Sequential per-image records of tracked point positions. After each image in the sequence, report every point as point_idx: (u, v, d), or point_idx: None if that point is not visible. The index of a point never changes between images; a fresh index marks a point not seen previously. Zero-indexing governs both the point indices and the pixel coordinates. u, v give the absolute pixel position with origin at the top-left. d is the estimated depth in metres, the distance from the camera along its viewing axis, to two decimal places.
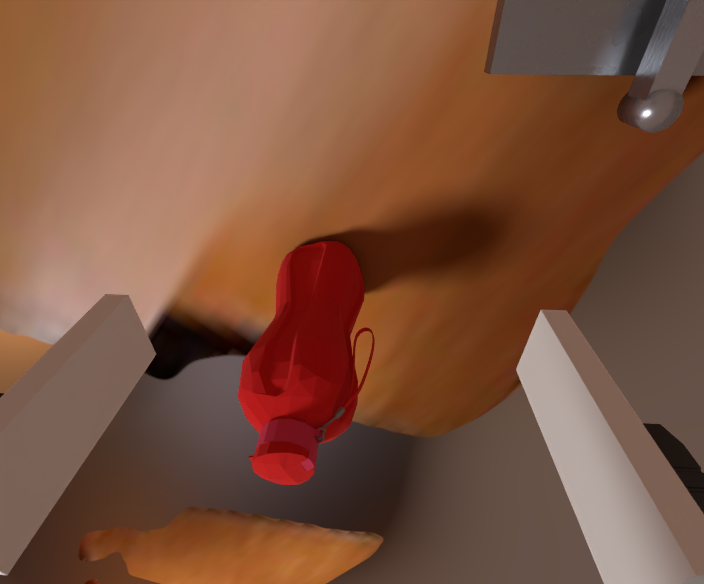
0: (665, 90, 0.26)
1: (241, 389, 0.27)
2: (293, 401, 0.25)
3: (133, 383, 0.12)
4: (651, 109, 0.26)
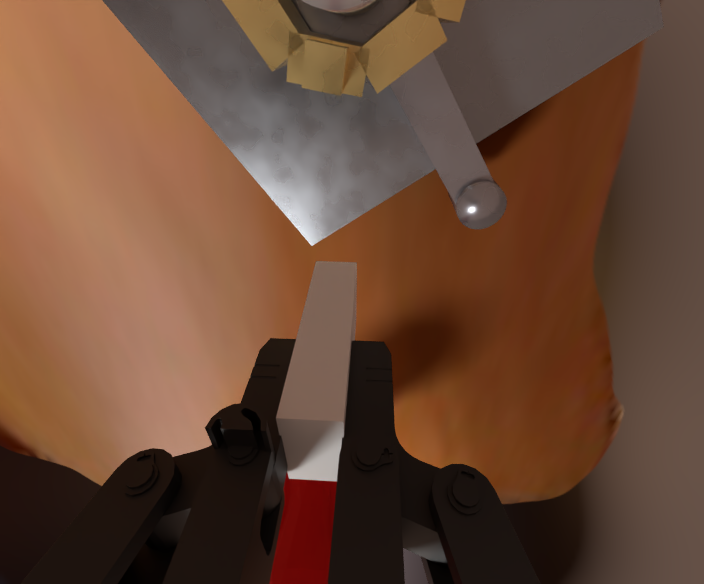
0: (467, 187, 0.21)
1: None
2: None
3: None
4: (467, 212, 0.21)
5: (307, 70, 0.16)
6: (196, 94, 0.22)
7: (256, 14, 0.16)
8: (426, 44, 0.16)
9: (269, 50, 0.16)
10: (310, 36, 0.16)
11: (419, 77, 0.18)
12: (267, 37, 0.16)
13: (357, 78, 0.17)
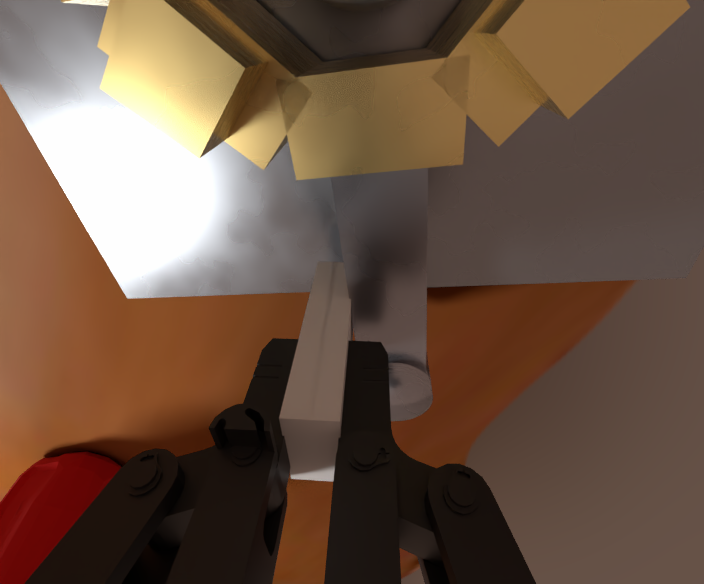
0: None
1: None
2: None
3: None
4: None
5: (124, 57, 0.06)
6: None
7: None
8: (423, 149, 0.08)
9: None
10: None
11: (386, 188, 0.09)
12: None
13: (267, 132, 0.08)
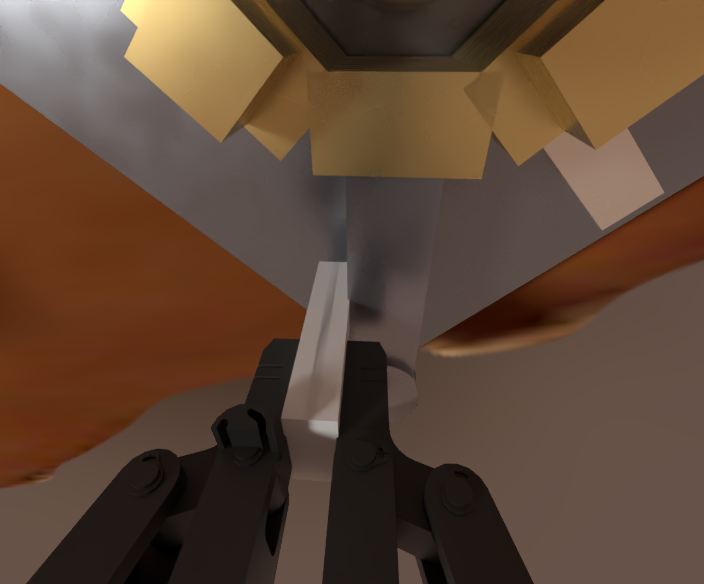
0: None
1: None
2: None
3: None
4: None
5: (156, 28, 0.05)
6: None
7: None
8: (445, 159, 0.08)
9: None
10: None
11: (400, 193, 0.09)
12: None
13: (290, 122, 0.07)
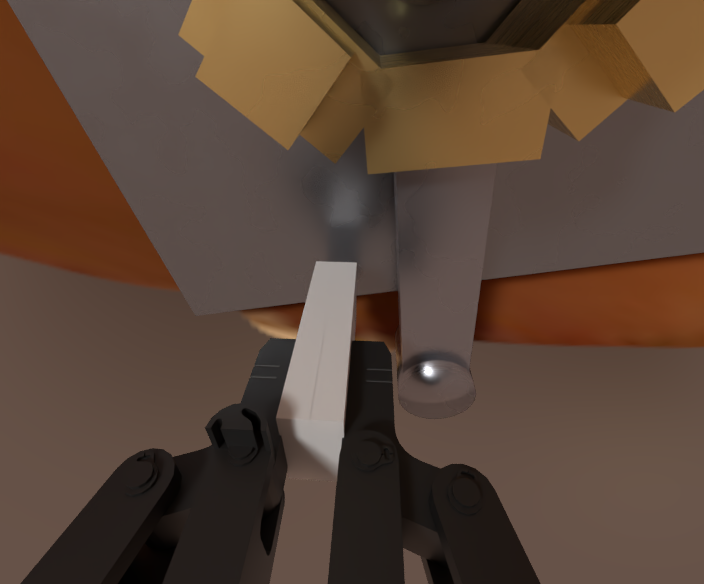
0: (431, 362, 0.13)
1: None
2: None
3: None
4: (414, 393, 0.13)
5: (226, 44, 0.05)
6: None
7: None
8: (502, 143, 0.07)
9: None
10: None
11: (452, 183, 0.09)
12: None
13: (344, 124, 0.07)
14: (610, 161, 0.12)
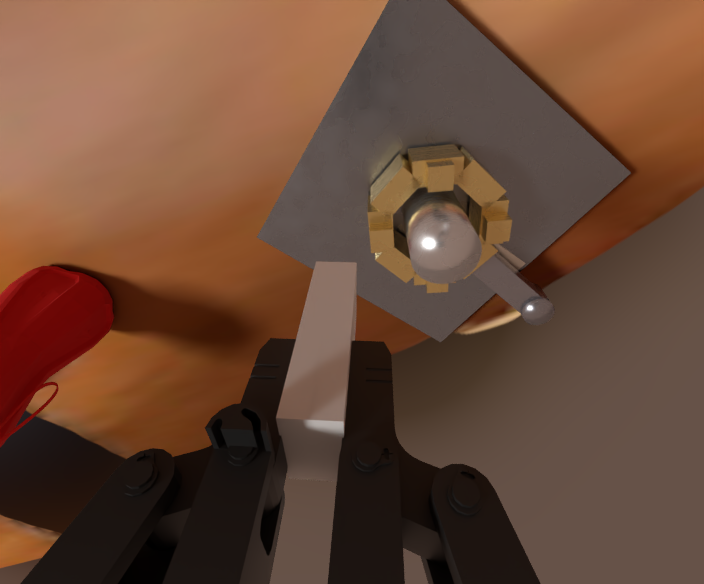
0: (526, 304, 0.34)
1: None
2: None
3: None
4: (530, 317, 0.34)
5: (429, 286, 0.31)
6: (325, 132, 0.29)
7: (396, 264, 0.31)
8: (487, 255, 0.30)
9: (404, 275, 0.32)
10: None
11: (485, 264, 0.32)
12: (402, 271, 0.32)
13: None
14: (533, 207, 0.32)
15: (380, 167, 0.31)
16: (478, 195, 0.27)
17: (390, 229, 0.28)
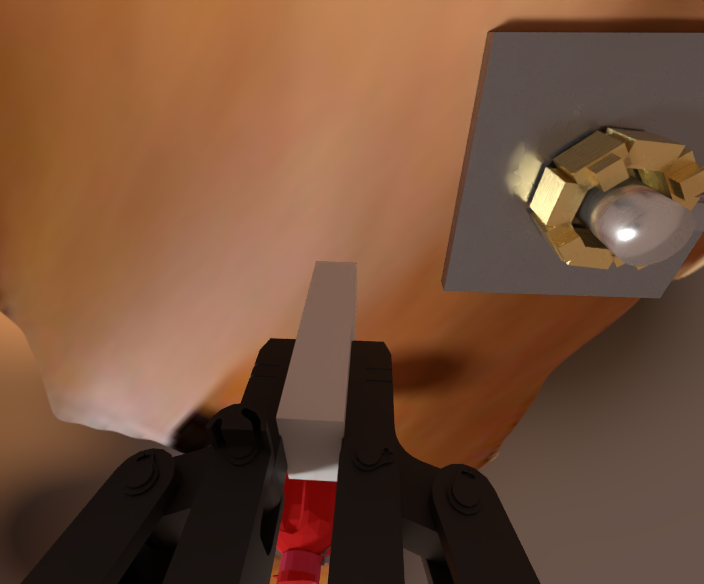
0: None
1: None
2: (303, 537, 0.37)
3: None
4: None
5: None
6: (471, 187, 0.33)
7: (591, 258, 0.32)
8: (688, 206, 0.29)
9: (602, 264, 0.33)
10: None
11: None
12: (599, 261, 0.32)
13: None
14: None
15: (531, 186, 0.33)
16: (654, 164, 0.27)
17: (577, 237, 0.30)
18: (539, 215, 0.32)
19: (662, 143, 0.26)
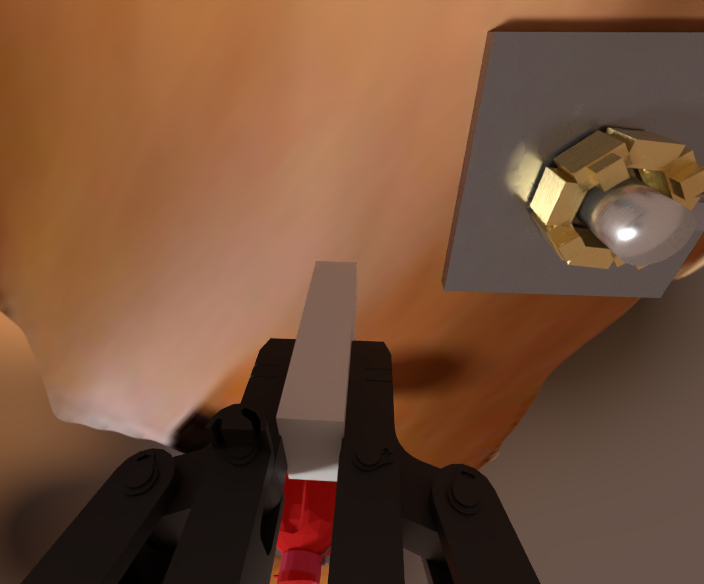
0: None
1: None
2: (304, 537, 0.37)
3: None
4: None
5: None
6: (472, 186, 0.33)
7: (591, 258, 0.32)
8: (689, 206, 0.29)
9: (603, 263, 0.33)
10: None
11: None
12: (600, 261, 0.32)
13: None
14: None
15: (531, 186, 0.33)
16: (655, 164, 0.27)
17: (578, 237, 0.30)
18: (539, 215, 0.32)
19: (662, 143, 0.26)
